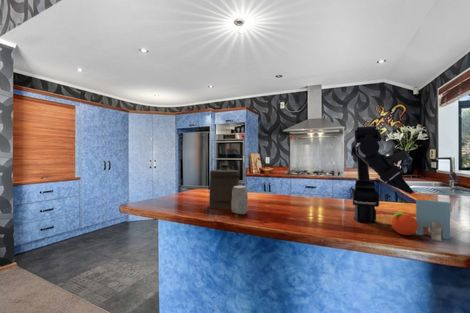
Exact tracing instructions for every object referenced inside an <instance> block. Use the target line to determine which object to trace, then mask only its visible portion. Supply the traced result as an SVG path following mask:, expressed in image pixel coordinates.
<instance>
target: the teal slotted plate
mask: <svg viewBox="0 0 470 313" xmlns="http://www.w3.org/2000/svg"><path fill="white" fill-rule="evenodd" d="M415 219H416V221H417V224H418V228H417V231H416V232H415V234H416V235H418V236H424V228H428V227H430V228H431V221H432V222H440V223H441V239H443V240H444V239H445V240H451V203H450V202H449V201H441V200H440V201H439V200H428V199H427V200H426V199H417V198H416V199H415Z"/></svg>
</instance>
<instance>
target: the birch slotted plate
mask: <svg viewBox="0 0 470 313" xmlns="http://www.w3.org/2000/svg"><path fill="white" fill-rule="evenodd" d="M427 228H428V233H429V236H430V238H431V241H437V242H442V237H441V223H440V222H432V221H431V228H430V227H427Z"/></svg>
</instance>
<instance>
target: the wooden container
mask: <svg viewBox="0 0 470 313" xmlns="http://www.w3.org/2000/svg"><path fill="white" fill-rule="evenodd" d="M220 166H221V167H220V168H219V169H211V170H210V172H209V190H208V191H209V194H208V195H209V196H208V197H209V202H208V203H209V205H208V206H209V207H210V208H211V209H214V210H232V208H231V201H232V189H233V187H234V186H240V185H239V184H240V182H239V181H240V180H239V179H240V178H239V177H240V170H239V169H238V170H236V169H230V168H229V167H228V166H229V164H228V163H227V162H222V163H221V165H220Z"/></svg>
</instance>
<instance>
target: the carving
mask: <svg viewBox="0 0 470 313" xmlns="http://www.w3.org/2000/svg"><path fill="white" fill-rule="evenodd" d="M248 205H249V197H248V187H247V186H245V185H239V186H234V187H233V189H232V201H231V208H232V209H231V212H232V213H234V214H237V215H245V214H247V211H248Z"/></svg>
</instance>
